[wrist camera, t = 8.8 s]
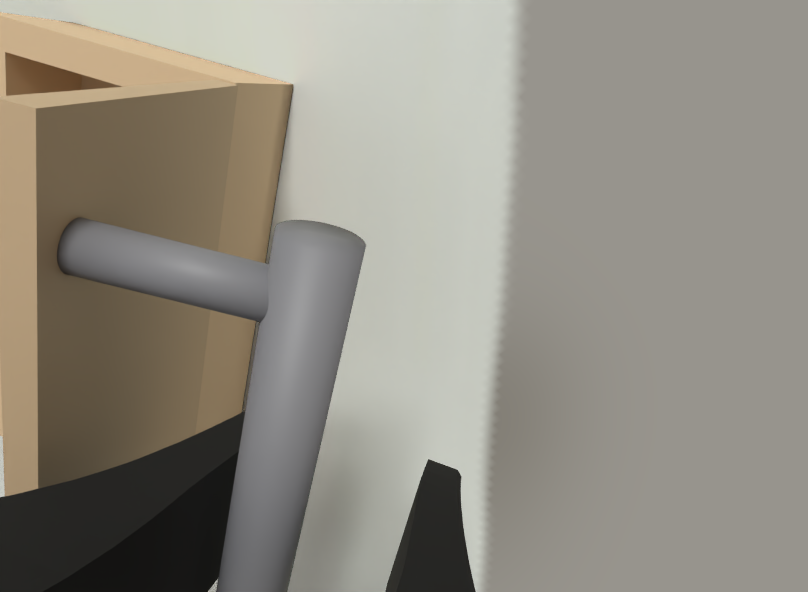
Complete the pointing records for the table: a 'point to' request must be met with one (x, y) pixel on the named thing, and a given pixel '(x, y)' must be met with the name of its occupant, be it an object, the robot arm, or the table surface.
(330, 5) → the table surface
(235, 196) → the carton
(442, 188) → the table surface
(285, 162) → the table surface
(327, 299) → the lid
